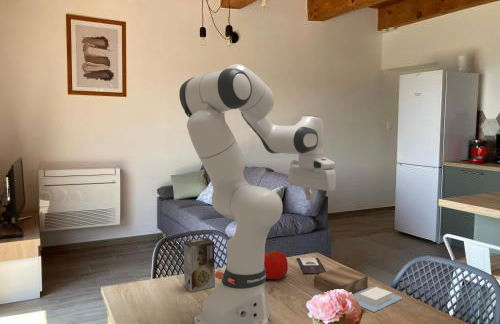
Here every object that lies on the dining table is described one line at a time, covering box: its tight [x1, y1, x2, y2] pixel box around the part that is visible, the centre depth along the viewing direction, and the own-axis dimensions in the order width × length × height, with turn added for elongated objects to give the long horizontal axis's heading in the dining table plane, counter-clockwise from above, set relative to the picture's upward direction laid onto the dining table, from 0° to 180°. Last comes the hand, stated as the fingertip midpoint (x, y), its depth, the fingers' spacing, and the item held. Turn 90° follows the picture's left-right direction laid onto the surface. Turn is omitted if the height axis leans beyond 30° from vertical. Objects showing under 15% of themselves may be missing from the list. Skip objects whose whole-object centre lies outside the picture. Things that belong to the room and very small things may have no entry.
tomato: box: [264, 250, 289, 280], centre depth 155 cm, size 11×12×9 cm
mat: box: [353, 286, 404, 313], centre depth 136 cm, size 16×12×1 cm
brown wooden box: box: [313, 266, 369, 294], centre depth 146 cm, size 14×12×4 cm
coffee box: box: [183, 237, 216, 293], centre depth 145 cm, size 9×6×16 cm
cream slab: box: [359, 286, 393, 306], centre depth 135 cm, size 9×6×2 cm, turn 129°
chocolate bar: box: [296, 257, 327, 276], centre depth 167 cm, size 9×1×18 cm
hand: (310, 200), depth 150 cm, fingers closed
